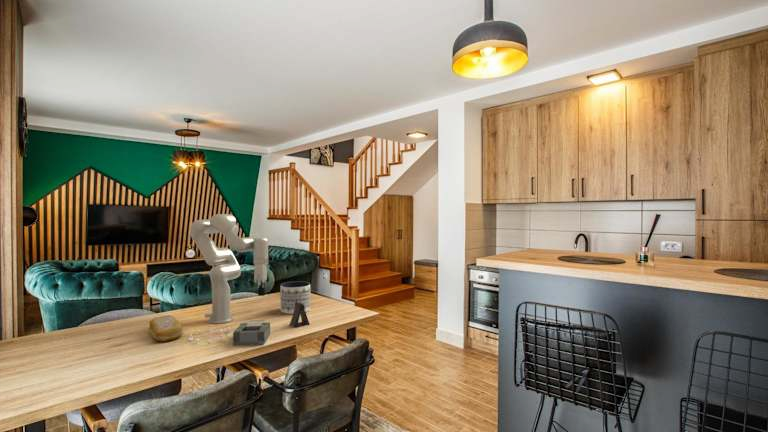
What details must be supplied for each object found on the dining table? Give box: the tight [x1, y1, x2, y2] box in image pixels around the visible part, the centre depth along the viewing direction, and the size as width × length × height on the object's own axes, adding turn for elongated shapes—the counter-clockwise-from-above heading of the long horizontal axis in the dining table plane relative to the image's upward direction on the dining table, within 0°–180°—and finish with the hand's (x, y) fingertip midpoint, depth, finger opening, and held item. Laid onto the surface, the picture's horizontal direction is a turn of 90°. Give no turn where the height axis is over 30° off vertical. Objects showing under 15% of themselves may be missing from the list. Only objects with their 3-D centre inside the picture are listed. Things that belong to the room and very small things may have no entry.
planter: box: [279, 280, 311, 315], centre depth 229 cm, size 18×18×16 cm
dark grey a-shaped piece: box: [289, 302, 310, 328], centre depth 201 cm, size 9×6×12 cm, turn 126°
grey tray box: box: [239, 319, 271, 331], centre depth 183 cm, size 14×9×5 cm, turn 96°
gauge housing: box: [232, 322, 271, 347], centre depth 178 cm, size 14×14×6 cm
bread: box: [148, 314, 184, 343], centre depth 185 cm, size 13×26×8 cm, turn 44°
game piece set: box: [187, 325, 231, 345], centre depth 181 cm, size 19×20×4 cm
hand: (261, 295), depth 196 cm, fingers closed
